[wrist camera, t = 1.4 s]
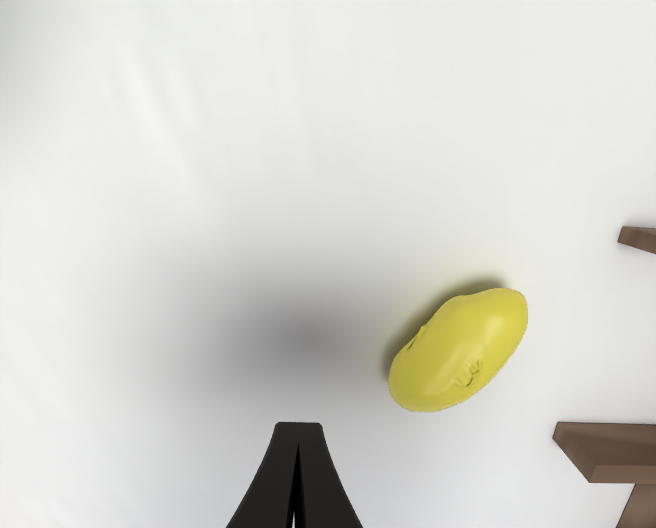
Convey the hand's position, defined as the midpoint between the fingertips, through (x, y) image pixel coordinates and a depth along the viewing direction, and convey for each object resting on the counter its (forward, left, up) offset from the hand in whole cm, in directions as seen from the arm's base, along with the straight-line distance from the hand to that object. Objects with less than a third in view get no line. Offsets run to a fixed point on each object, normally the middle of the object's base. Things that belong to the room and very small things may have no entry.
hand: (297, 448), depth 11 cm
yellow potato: (0, -7, -8) cm, 11 cm away
